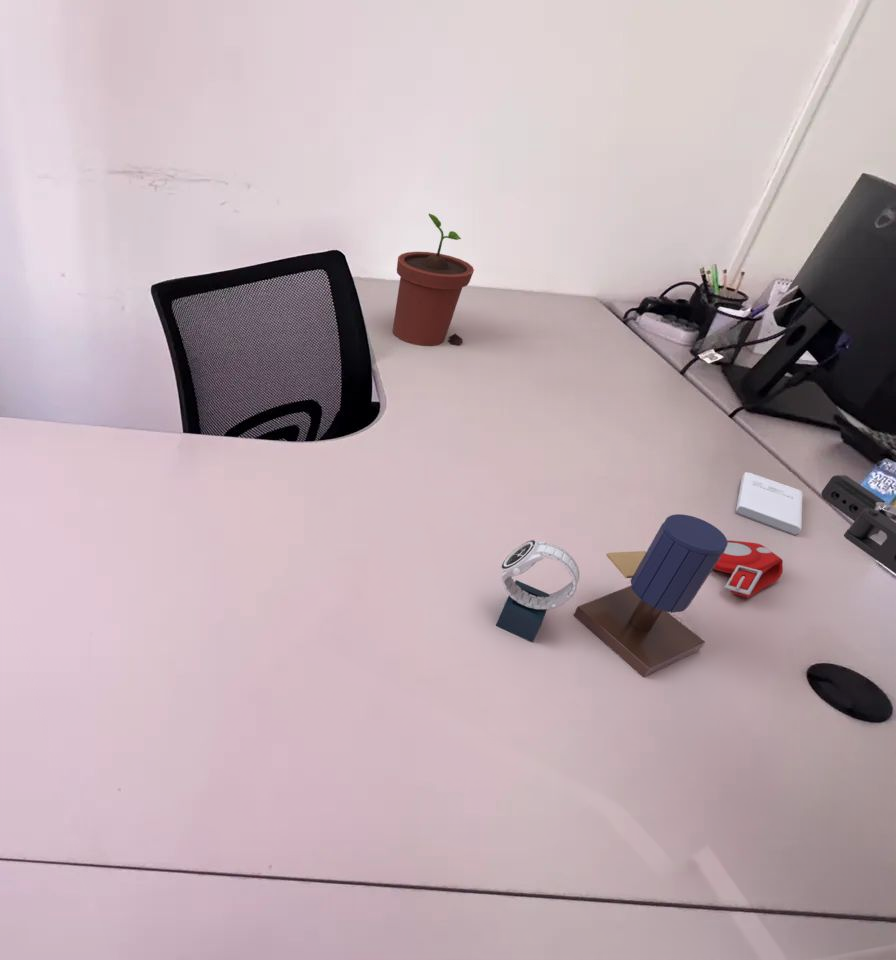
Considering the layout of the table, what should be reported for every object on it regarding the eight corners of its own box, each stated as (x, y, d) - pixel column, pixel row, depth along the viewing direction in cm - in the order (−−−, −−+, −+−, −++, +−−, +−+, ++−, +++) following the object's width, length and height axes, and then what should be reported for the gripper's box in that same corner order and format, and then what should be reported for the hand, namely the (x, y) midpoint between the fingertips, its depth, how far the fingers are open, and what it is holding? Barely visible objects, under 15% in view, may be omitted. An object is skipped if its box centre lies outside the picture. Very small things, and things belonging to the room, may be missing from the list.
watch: (492, 591, 84) (520, 522, 77) (558, 620, 81) (592, 551, 74) (479, 618, 80) (507, 548, 73) (548, 650, 76) (583, 579, 70)
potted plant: (363, 325, 151) (385, 209, 137) (427, 310, 163) (453, 201, 148) (422, 356, 140) (453, 233, 126) (486, 337, 152) (521, 223, 137)
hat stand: (627, 593, 86) (681, 499, 77) (699, 650, 79) (767, 554, 70) (573, 614, 82) (622, 518, 73) (643, 677, 74) (707, 578, 66)
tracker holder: (683, 537, 95) (758, 528, 94) (681, 564, 96) (754, 556, 95) (737, 581, 83) (823, 572, 82) (733, 611, 85) (818, 603, 84)
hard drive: (734, 513, 103) (740, 478, 111) (796, 536, 99) (798, 498, 108) (739, 505, 102) (745, 470, 110) (802, 528, 98) (804, 490, 107)
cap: (700, 610, 74) (741, 549, 69) (652, 614, 73) (690, 552, 68) (646, 553, 82) (679, 494, 77) (602, 555, 81) (633, 495, 76)
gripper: (1252, 587, 40) (976, 441, 53) (1072, 602, 38) (827, 444, 50) (1145, 669, 45) (914, 516, 57) (977, 687, 42) (774, 522, 55)
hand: (874, 482), depth 54 cm, fingers open, 8 cm apart
